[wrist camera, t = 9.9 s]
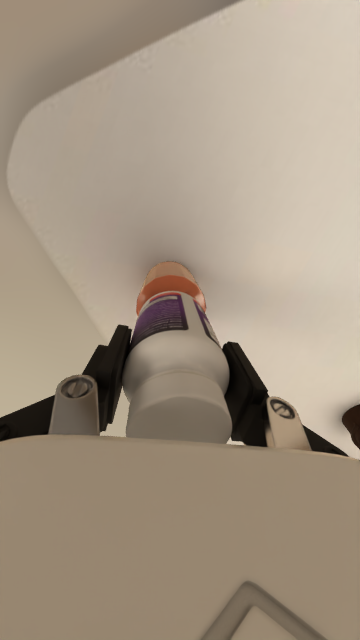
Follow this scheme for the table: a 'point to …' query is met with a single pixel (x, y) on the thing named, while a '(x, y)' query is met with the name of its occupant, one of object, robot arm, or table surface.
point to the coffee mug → (353, 424)
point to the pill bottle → (176, 374)
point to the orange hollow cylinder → (169, 283)
